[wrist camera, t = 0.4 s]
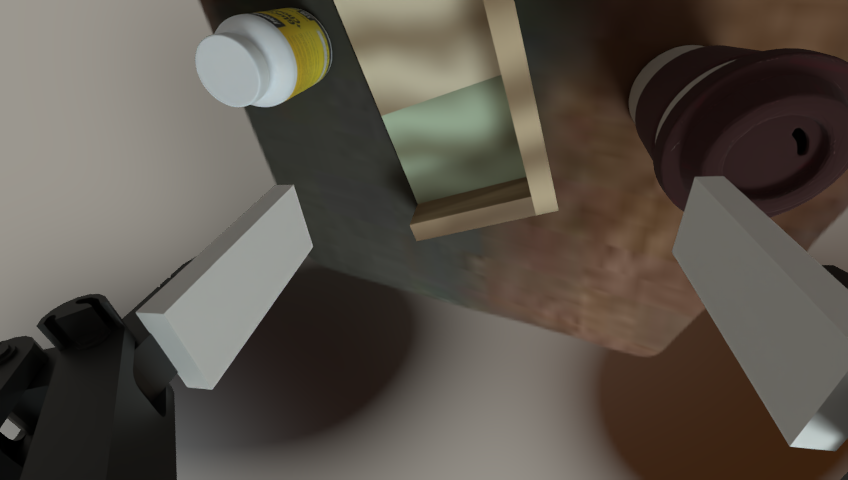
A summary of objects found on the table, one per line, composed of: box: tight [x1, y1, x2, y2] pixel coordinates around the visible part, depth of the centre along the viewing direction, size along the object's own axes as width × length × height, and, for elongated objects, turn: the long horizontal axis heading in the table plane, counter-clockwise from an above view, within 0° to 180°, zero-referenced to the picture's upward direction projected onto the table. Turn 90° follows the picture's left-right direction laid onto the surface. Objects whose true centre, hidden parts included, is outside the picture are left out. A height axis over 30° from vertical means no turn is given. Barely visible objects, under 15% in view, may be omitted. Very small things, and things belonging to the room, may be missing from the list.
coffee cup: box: [629, 45, 848, 218], centre depth 27 cm, size 10×10×15 cm
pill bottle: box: [195, 8, 332, 107], centre depth 31 cm, size 6×6×12 cm
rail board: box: [334, 0, 558, 241], centre depth 34 cm, size 23×14×5 cm, turn 20°
